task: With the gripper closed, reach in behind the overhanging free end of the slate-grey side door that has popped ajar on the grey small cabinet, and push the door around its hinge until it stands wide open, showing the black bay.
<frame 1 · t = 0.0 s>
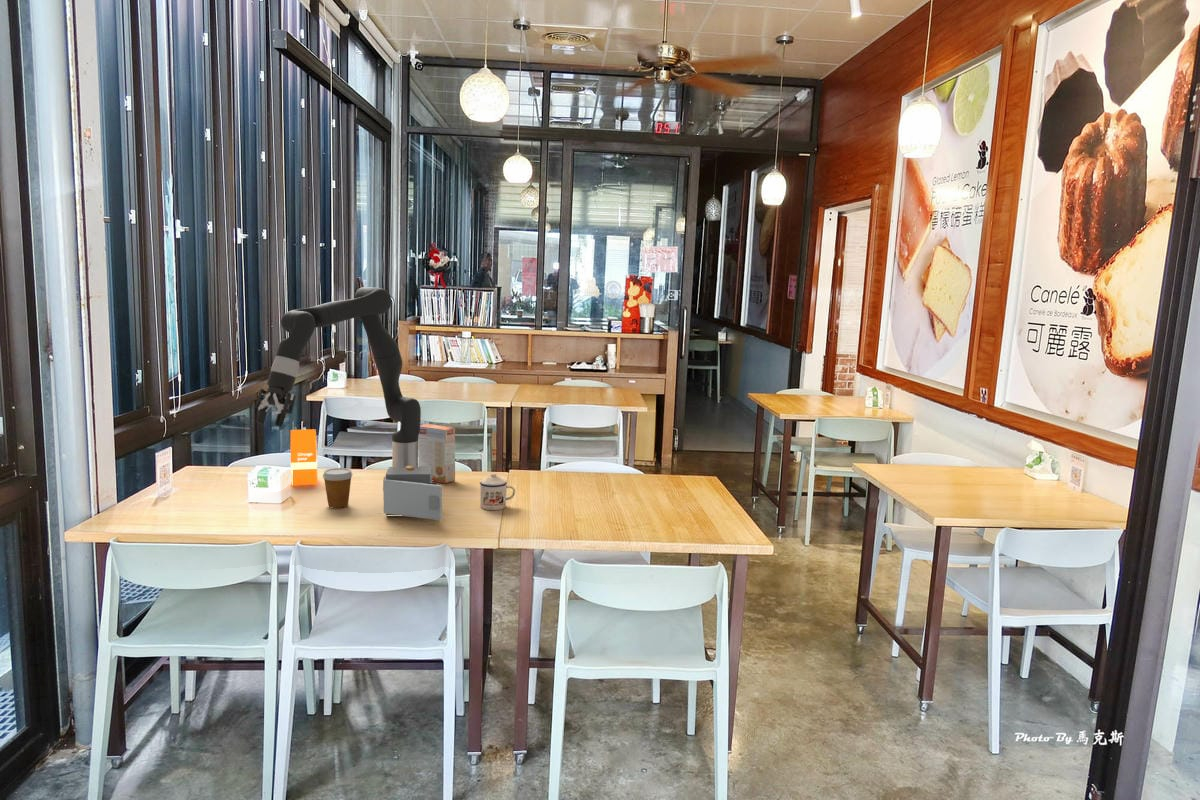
hand: (268, 424, 237), 31 cm above the table, tool tilted 20°, fingers open, 8 cm apart
side door: (411, 499, 249), point 7 cm above the table, hinge at 25.0°
orange juice: (304, 483, 291), on the table
grey small cabinet: (409, 511, 260), on the table
cracker box: (436, 480, 301), on the table
disposable coffee cup: (338, 506, 264), on the table
teacup with lid: (497, 507, 268), on the table
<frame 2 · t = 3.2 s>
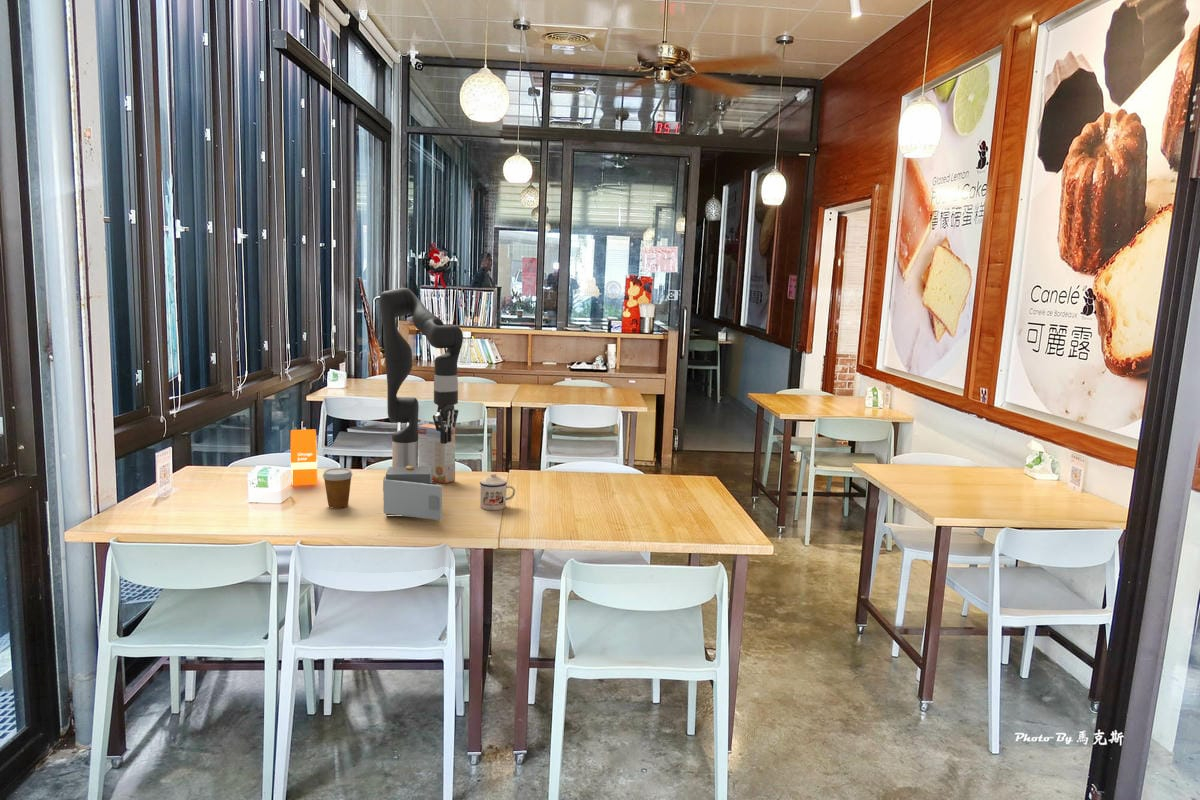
hand: (445, 442, 250), 25 cm above the table, tool pointing down, fingers closed
nothing on the table moved.
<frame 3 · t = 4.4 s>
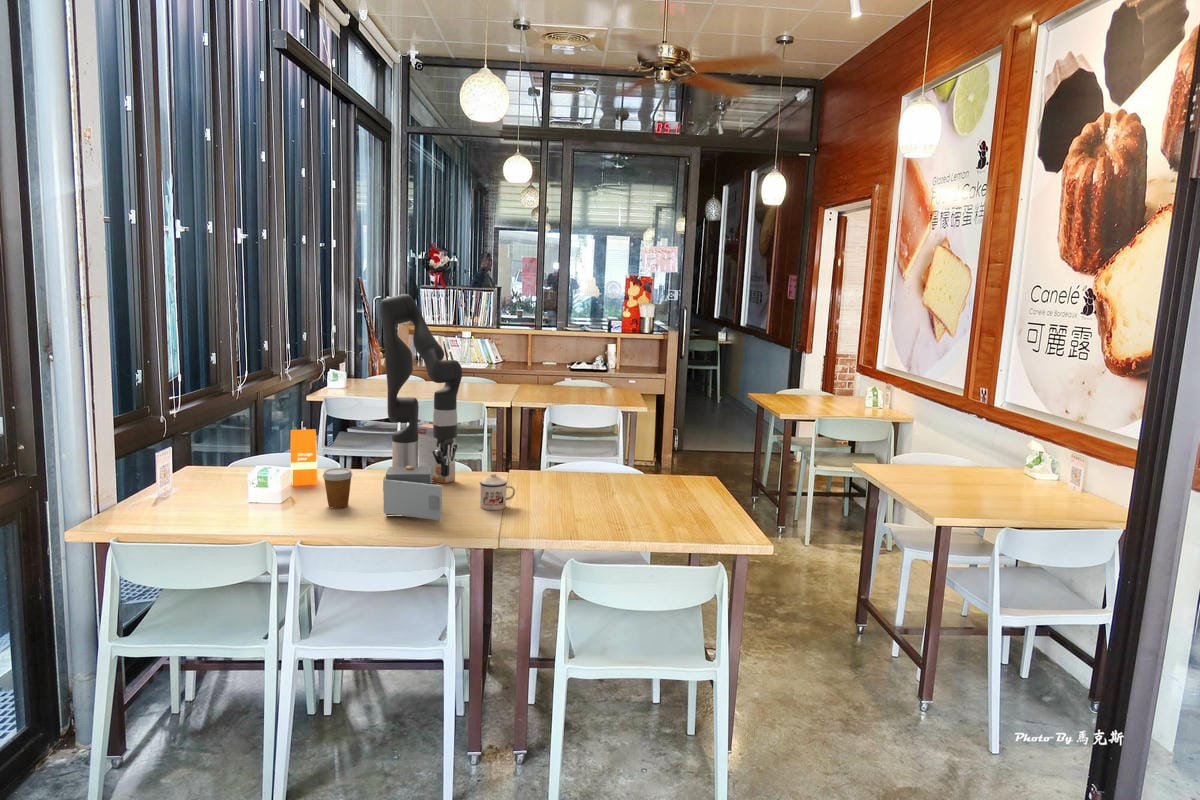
hand: (445, 475, 252), 14 cm above the table, tool pointing down, fingers closed
nothing on the table moved.
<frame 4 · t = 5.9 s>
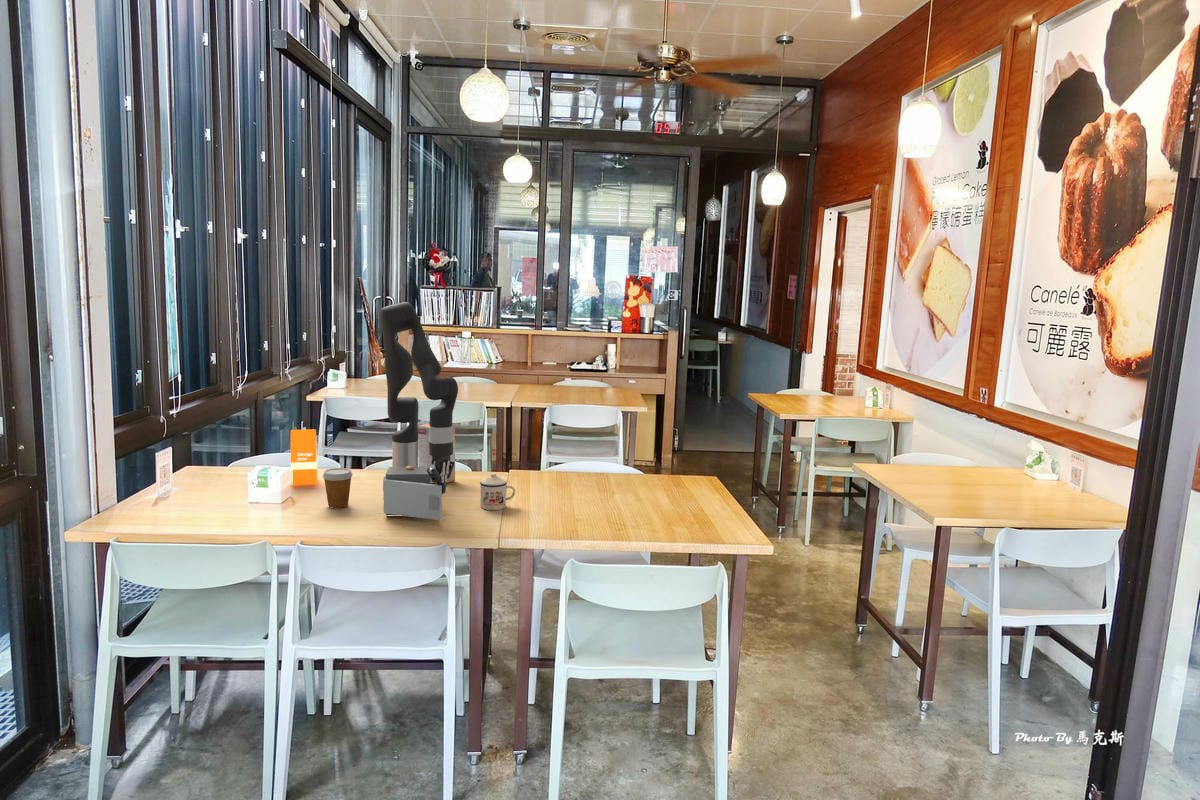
hand: (441, 493, 250), 9 cm above the table, tool pointing down, fingers closed
side door: (411, 499, 249), point 7 cm above the table, hinge at 25.1°, touching gripper
everything else where it was.
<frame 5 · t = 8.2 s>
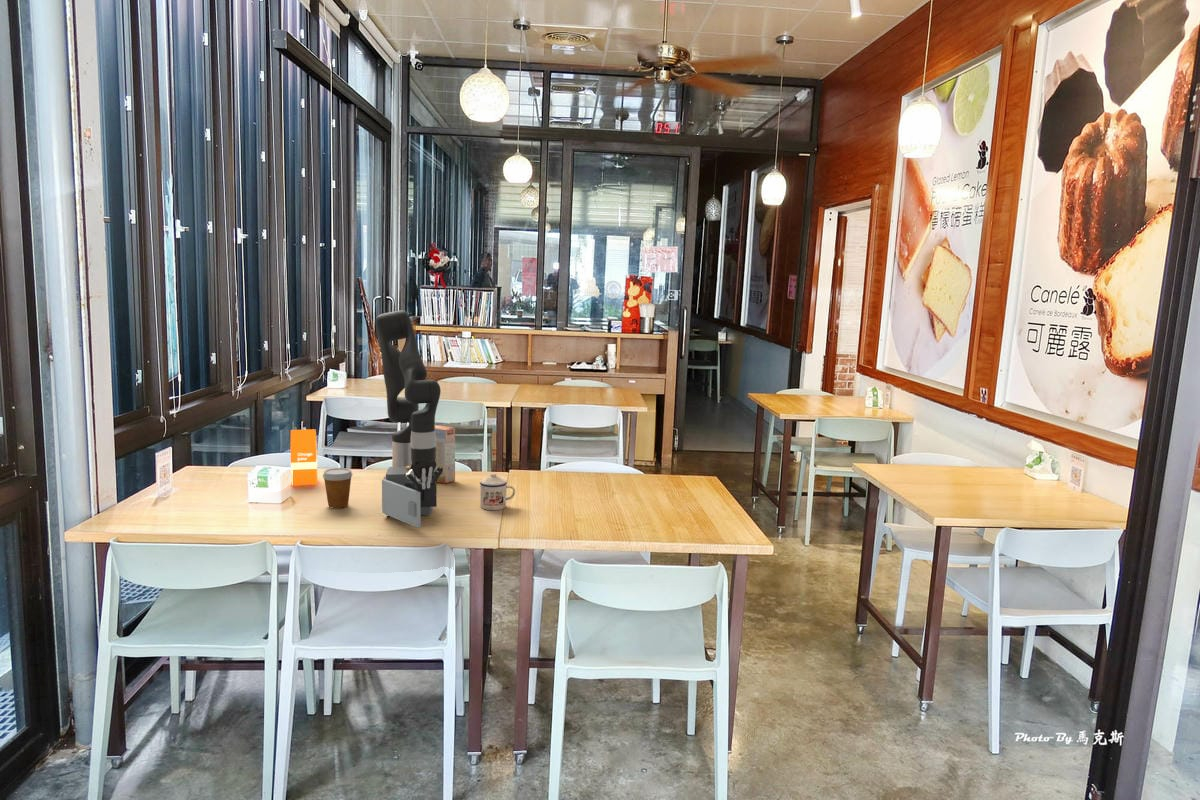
hand: (424, 499, 242), 9 cm above the table, tool pointing down, fingers closed
side door: (399, 503, 245), point 7 cm above the table, hinge at 52.8°, touching gripper
everything else where it was.
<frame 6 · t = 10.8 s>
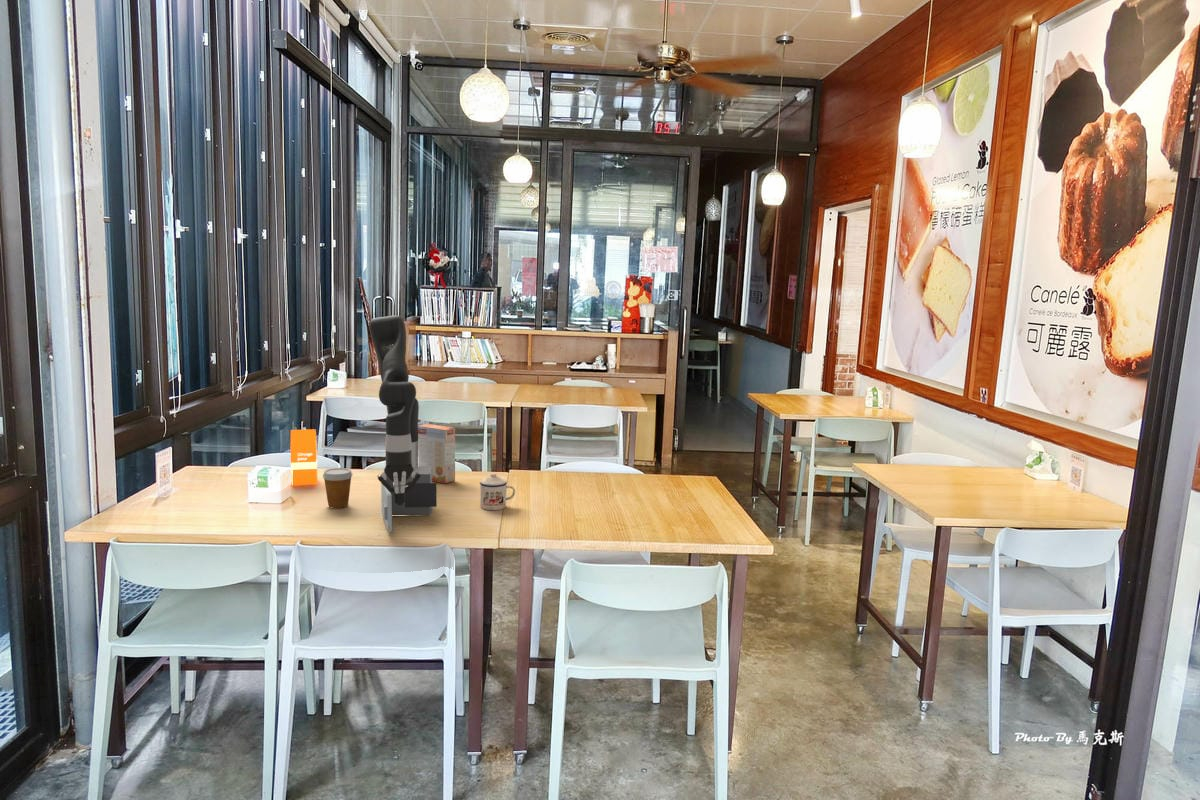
hand: (399, 504, 236), 9 cm above the table, tool pointing down, fingers closed
side door: (385, 504, 243), point 7 cm above the table, hinge at 78.5°, touching gripper
everything else where it was.
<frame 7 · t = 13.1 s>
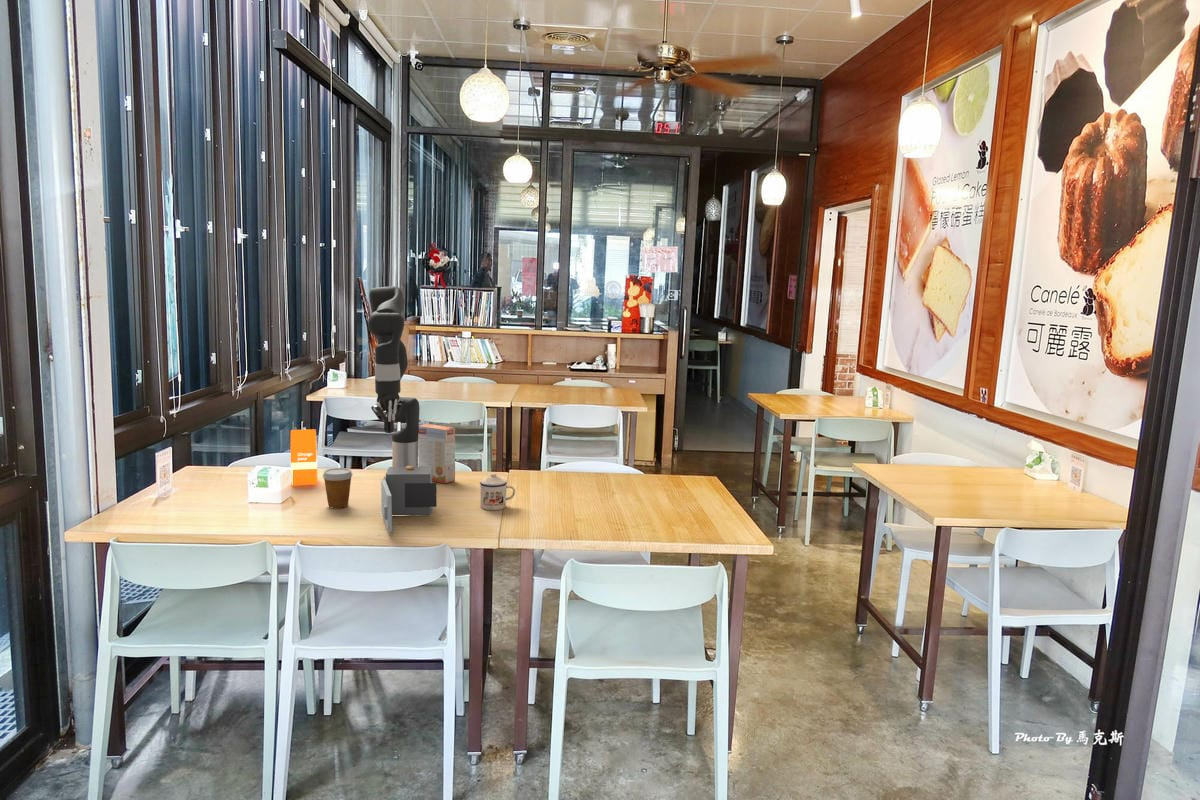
hand: (389, 432, 245), 29 cm above the table, tool pointing down, fingers closed
side door: (385, 504, 243), point 7 cm above the table, hinge at 78.6°
everything else where it was.
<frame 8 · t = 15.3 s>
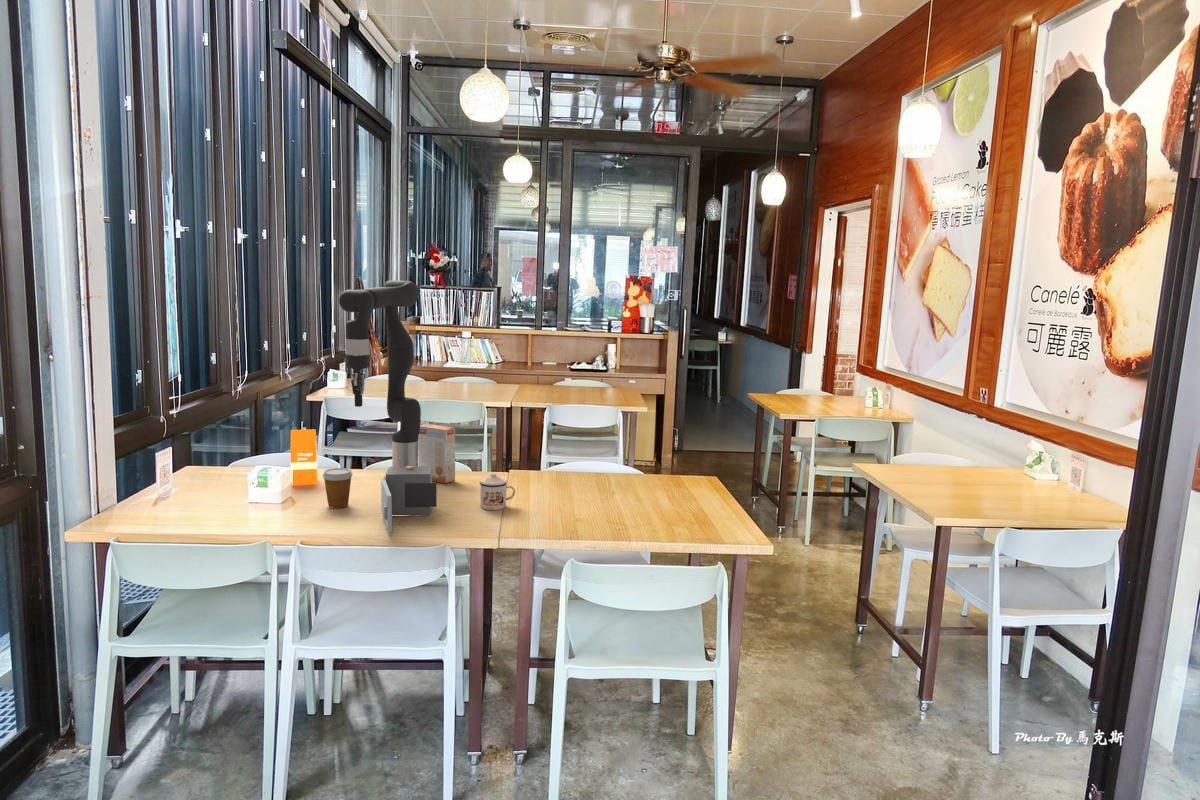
hand: (358, 406, 254), 35 cm above the table, tool pointing down, fingers closed
nothing on the table moved.
at the end: side door at +79° (first picture: +25°) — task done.
